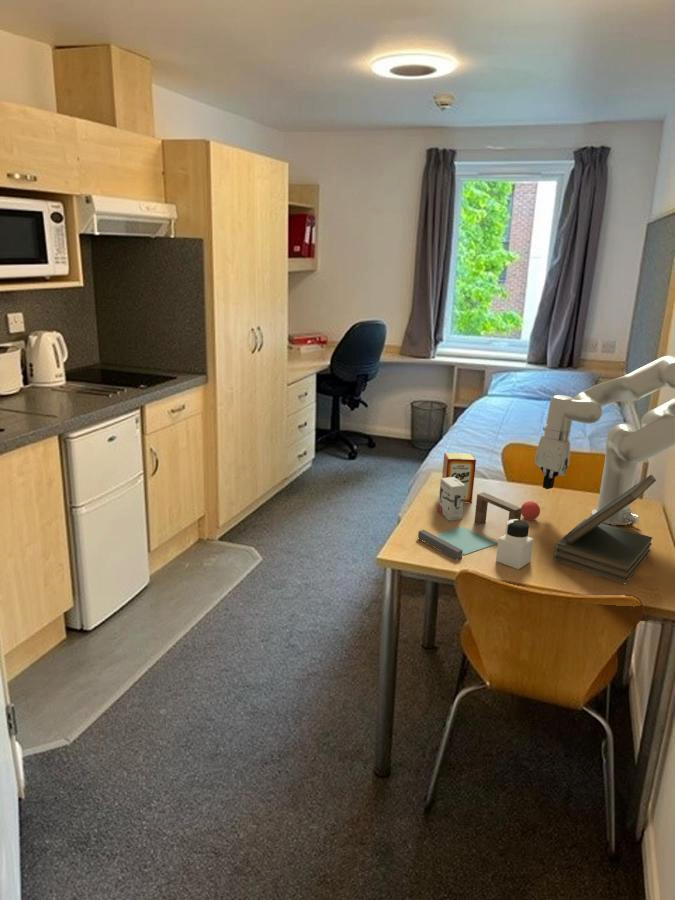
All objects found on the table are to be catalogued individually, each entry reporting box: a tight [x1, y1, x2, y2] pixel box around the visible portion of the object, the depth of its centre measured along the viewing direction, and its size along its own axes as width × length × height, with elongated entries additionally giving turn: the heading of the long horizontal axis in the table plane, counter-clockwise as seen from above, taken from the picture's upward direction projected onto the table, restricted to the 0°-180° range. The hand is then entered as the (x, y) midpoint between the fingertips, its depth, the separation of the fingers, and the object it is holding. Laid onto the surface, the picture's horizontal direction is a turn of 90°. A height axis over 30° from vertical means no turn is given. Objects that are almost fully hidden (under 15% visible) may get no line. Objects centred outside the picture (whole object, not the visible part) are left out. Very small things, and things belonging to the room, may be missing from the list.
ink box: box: [437, 477, 465, 521], centre depth 209 cm, size 9×5×12 cm, turn 18°
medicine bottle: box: [495, 519, 534, 570], centre depth 179 cm, size 7×7×12 cm
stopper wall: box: [417, 529, 463, 560], centre depth 187 cm, size 16×2×2 cm, turn 35°
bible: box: [553, 474, 657, 584], centre depth 180 cm, size 23×20×25 cm
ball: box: [520, 500, 541, 521], centre depth 209 cm, size 6×6×6 cm
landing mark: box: [435, 526, 498, 556], centre depth 193 cm, size 14×14×1 cm
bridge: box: [473, 492, 522, 526], centre depth 199 cm, size 3×15×10 cm, turn 35°
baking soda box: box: [441, 452, 477, 504], centre depth 222 cm, size 10×6×16 cm
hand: (547, 487), depth 212 cm, fingers closed
